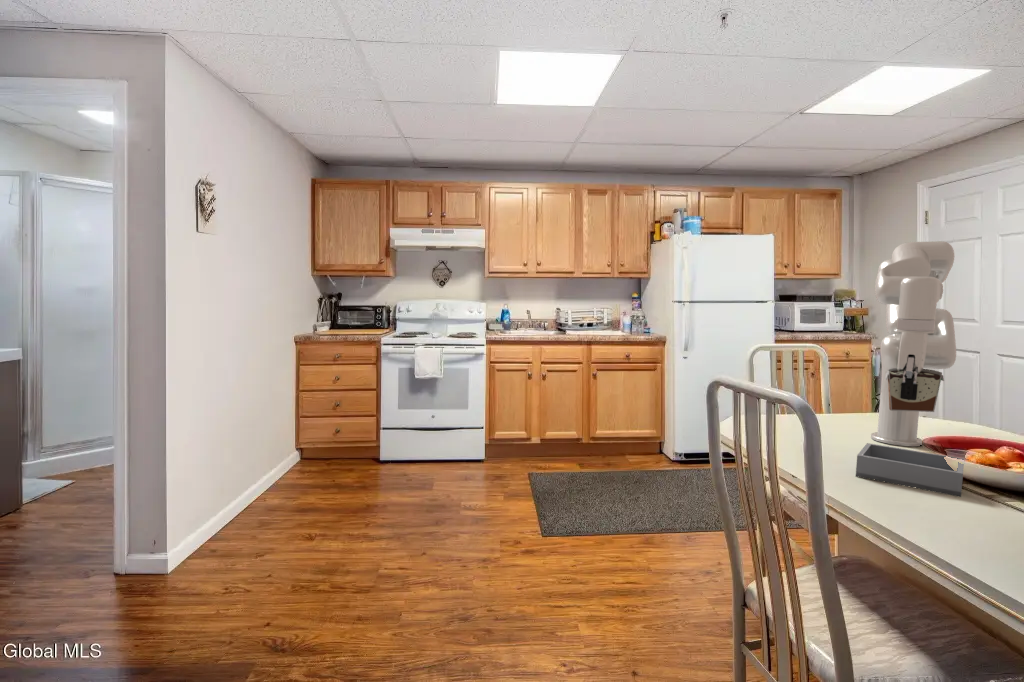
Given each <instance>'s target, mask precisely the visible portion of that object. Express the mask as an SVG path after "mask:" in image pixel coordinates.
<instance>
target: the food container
mask: <svg viewBox="0 0 1024 682" xmlns="http://www.w3.org/2000/svg"><path fill="white" fill-rule="evenodd" d="M903 374H904V369H903V370H901V371H898V370H897V368H891V369H889V370H888V372H887V373H886V376H885V379H886V380H887V378H888V390H889V409H890V410H891V411H919V413H920V412H925V413H935V409H936V405H937V401H938V395H939V390H940V386H941V382H944V381H945V379H944V375H943V372H941V371H938V370H936V369H928V368H923V370H922V371H921V372H920V373H918V374H917V382H916V384H918V387H917V398H916V400H908V399H901V398H900V396H901V384H902V383H903Z"/></svg>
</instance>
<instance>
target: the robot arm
mask: <svg viewBox="0 0 1024 682" xmlns="http://www.w3.org/2000/svg"><path fill="white" fill-rule="evenodd" d="M954 261H955V249H954V247H953V246H952V244H951V243H949V242H948V241H943V240H941V241H939V240H937V241H936V240H935V241H909V242H904V243H901V244H899V245H898V246H896V247H895V248H894V250H893V251H892V253H891V258H889V259H885V260H883V261H882V262H881V263H880V264H879V266H878V269H877V274H876V275H877V276H876V278H875V282H874V285H875V288H874V289H875V293H874V294H875V297H876V301H877V302H878V303H879V304H882V305H885V306H886V307H885V308H886V311H885V313H886V317H885V318H886V321H885V322H886V330H887V333H888V335H887V336H886V335H885V337H883V338H882V340H881V342H880V362H881V382H880V395H879V409H878V423H877V432H872V433H871V434H870V438H871V439H872V440H874V441H877V442H879V443H884V444H887V445H888V444H889V445H893V446H899V447H921V446H920V445H922V440H923V439H922V438H920V437H918V427H919V416H920V412H919V411H891V410H890V409H889V390H888V378H887V380H886V379H885V376H886V373H887V372H888V370H889V369H891V368H897V370H898V371H901V370H903V369H904V374H903V383H902V384H901V396H900V398H901V399H908V400H916V398H917V387H918V384H916V382H917V374H918V373H920V372H921V371H922V370H923V369H930V370H947V369H950V368H952V367H953V366H954V365H955V363H956V359H957V345H956V344H957V343H956V333H955V322H954V317H953V316H952V313H951V312H950V311H949V310H946V309H944V308H937V303H938V302H939V300H941V299H942V298H943V294H944V284H943V283H944V282H945V281H946V280H947V278H948V276H949V274H950V271H951V270H952V267H953V266H954V263H955V262H954ZM922 446H923V445H922Z"/></svg>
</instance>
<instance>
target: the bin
mask: <svg viewBox="0 0 1024 682" xmlns="http://www.w3.org/2000/svg"><path fill="white" fill-rule="evenodd" d="M946 456H948V457H951V458H957V459H962V460H964V461H965V458H962V457H957V456H950V455H943V454H939V453H938V454H937V453H931V452H926V451H925V452H924V451H920V450H919V451H918V450H914V449H913V450H912V449H906V448H900V447H894V446H888V445H887V446H886V445H881V444H875V443H869V442H867V443H865V445H864V446H863V448H862V449H861V450H860V451H859V452H858V454H857V455H856V467H855V477H856V476H859V478H862V477H864V478H863V479H867V478H870V479H869V480H872V479H875V480H874V481H877V480H879V481H878V482H882V481H885V482H884V483H887V482H889V483H888V484H892V483H894V484H893V485H897V484H899V485H898V486H902V485H905V486H904V487H908V486H910V487H909V488H913V487H916V488H915V489H918V488H920V489H919V490H923V489H926V490H925V491H928V490H930V491H929V492H933V491H934V492H935V493H939V494H944V495H950V496H954V497H960V498H962V492H963V491H962V490H963V489H962V487H963V478H964V465H965V463H964V464H961V463H959V462H958V468H957V471H954V470H953V469H952V468H951V467H950V466H949V465H948V464H947V462H946V460H945V459H944V457H946Z"/></svg>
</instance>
